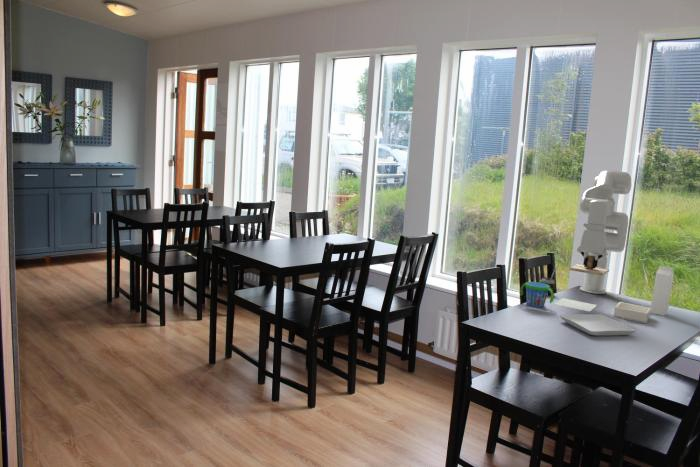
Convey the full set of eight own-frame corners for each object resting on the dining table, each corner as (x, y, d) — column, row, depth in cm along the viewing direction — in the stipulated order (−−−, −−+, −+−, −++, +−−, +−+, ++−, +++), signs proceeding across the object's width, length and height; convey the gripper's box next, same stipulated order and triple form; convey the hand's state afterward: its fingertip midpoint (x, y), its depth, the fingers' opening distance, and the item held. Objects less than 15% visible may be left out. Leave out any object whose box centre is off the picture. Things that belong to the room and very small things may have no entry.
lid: (577, 266, 278) (579, 251, 277) (608, 271, 271) (610, 256, 270) (569, 269, 267) (571, 254, 266) (602, 275, 259) (604, 260, 258)
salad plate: (590, 339, 225) (591, 330, 224) (557, 321, 245) (558, 313, 245) (636, 338, 231) (637, 329, 230) (600, 321, 251) (601, 313, 250)
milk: (663, 316, 268) (671, 268, 264) (649, 312, 272) (657, 266, 268) (667, 314, 272) (675, 267, 269) (653, 310, 276) (661, 264, 273)
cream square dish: (618, 311, 270) (619, 301, 269) (649, 317, 263) (651, 307, 262) (613, 317, 259) (614, 307, 258) (646, 323, 252) (647, 313, 251)
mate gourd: (537, 295, 289) (541, 265, 287) (539, 291, 296) (543, 262, 294) (553, 297, 286) (557, 267, 284) (555, 294, 293) (559, 265, 291)
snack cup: (513, 303, 269) (516, 281, 267) (526, 300, 276) (529, 279, 274) (543, 312, 257) (546, 289, 256) (556, 309, 264) (559, 287, 262)
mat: (561, 299, 284) (561, 297, 284) (596, 306, 276) (596, 305, 276) (553, 305, 271) (553, 304, 271) (590, 312, 262) (590, 311, 262)
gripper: (574, 225, 267) (569, 265, 270) (613, 231, 258) (607, 271, 261) (578, 224, 273) (573, 263, 276) (616, 229, 264) (610, 269, 267)
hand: (589, 267), depth 268 cm, fingers closed on lid, 3 cm apart
